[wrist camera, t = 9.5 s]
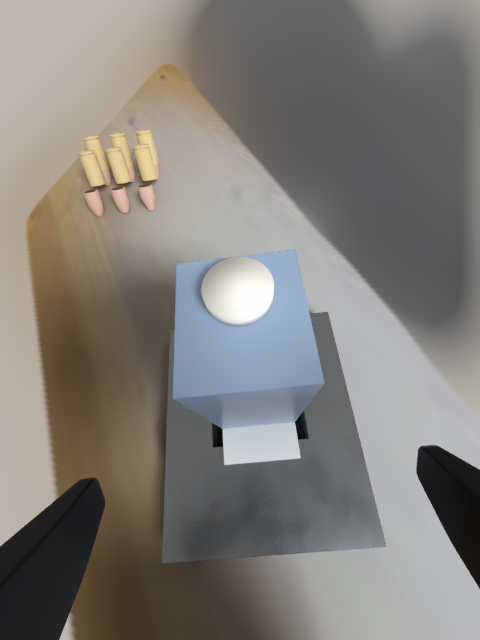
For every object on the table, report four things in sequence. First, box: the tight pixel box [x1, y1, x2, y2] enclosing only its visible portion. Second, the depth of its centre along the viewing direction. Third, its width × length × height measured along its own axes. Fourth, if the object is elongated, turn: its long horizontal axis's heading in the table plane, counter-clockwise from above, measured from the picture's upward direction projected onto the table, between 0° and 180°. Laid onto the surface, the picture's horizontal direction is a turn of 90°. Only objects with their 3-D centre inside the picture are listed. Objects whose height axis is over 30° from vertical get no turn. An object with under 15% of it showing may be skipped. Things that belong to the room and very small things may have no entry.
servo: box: [173, 249, 325, 465], centre depth 15 cm, size 10×4×13 cm, turn 4°
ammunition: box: [78, 130, 159, 217], centre depth 30 cm, size 5×7×8 cm
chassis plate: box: [162, 312, 386, 563], centre depth 19 cm, size 14×12×2 cm
